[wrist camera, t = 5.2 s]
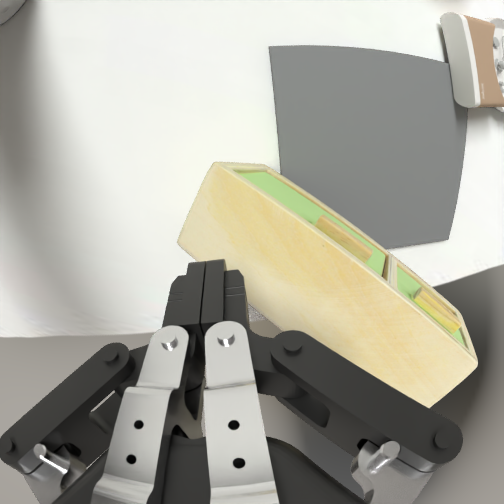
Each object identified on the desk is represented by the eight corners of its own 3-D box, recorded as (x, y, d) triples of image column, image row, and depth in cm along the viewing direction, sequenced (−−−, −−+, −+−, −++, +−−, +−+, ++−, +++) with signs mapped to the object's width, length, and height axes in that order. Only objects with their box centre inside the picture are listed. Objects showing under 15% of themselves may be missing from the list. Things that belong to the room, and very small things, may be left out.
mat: (268, 47, 18) (269, 46, 18) (463, 68, 18) (467, 68, 18) (286, 259, 30) (287, 262, 29) (445, 237, 29) (448, 239, 29)
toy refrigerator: (269, 155, 24) (466, 307, 19) (231, 224, 27) (409, 365, 22) (216, 147, 17) (488, 359, 12) (173, 242, 20) (405, 427, 15)
